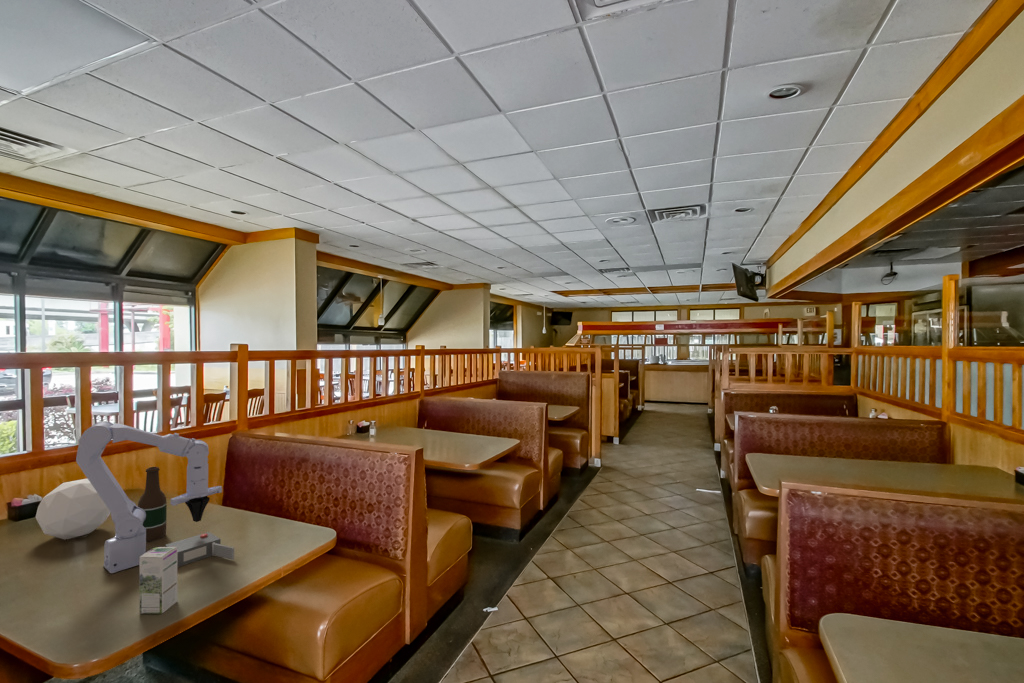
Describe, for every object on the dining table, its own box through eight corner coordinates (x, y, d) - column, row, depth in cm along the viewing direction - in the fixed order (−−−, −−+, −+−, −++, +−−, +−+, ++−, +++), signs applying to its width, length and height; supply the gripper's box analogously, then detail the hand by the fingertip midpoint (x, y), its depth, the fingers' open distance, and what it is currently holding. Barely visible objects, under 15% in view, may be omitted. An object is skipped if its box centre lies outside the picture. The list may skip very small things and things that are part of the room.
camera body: (170, 569, 133) (171, 552, 133) (160, 560, 139) (160, 544, 139) (220, 553, 144) (220, 537, 144) (208, 545, 149) (208, 530, 149)
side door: (234, 559, 139) (234, 546, 139) (232, 560, 138) (232, 548, 138) (213, 554, 142) (213, 542, 142) (211, 555, 142) (211, 543, 142)
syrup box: (178, 601, 117) (178, 545, 117) (161, 614, 111) (162, 556, 111) (156, 601, 117) (156, 545, 117) (137, 615, 111) (138, 556, 111)
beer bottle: (172, 533, 159) (172, 465, 159) (152, 542, 151) (152, 471, 151) (151, 532, 159) (152, 464, 159) (131, 541, 152) (131, 470, 152)
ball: (62, 554, 157) (52, 501, 163) (130, 524, 165) (118, 475, 172) (24, 548, 141) (15, 490, 147) (102, 515, 149) (91, 462, 156)
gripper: (179, 486, 138) (179, 531, 138) (227, 474, 151) (227, 515, 151) (167, 483, 141) (166, 526, 141) (215, 472, 154) (214, 511, 154)
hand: (197, 520), depth 146 cm, fingers closed
